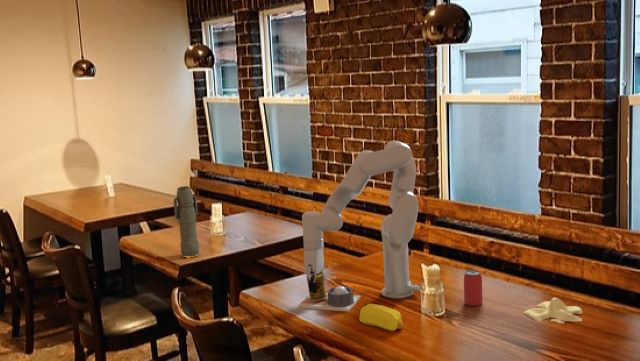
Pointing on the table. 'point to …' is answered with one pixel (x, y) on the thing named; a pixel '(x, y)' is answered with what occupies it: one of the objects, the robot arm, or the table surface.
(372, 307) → the faceted yellow knobbed lump
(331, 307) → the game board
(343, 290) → the dome
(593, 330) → the table surface
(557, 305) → the cloth
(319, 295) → the condiment
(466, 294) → the beer can
